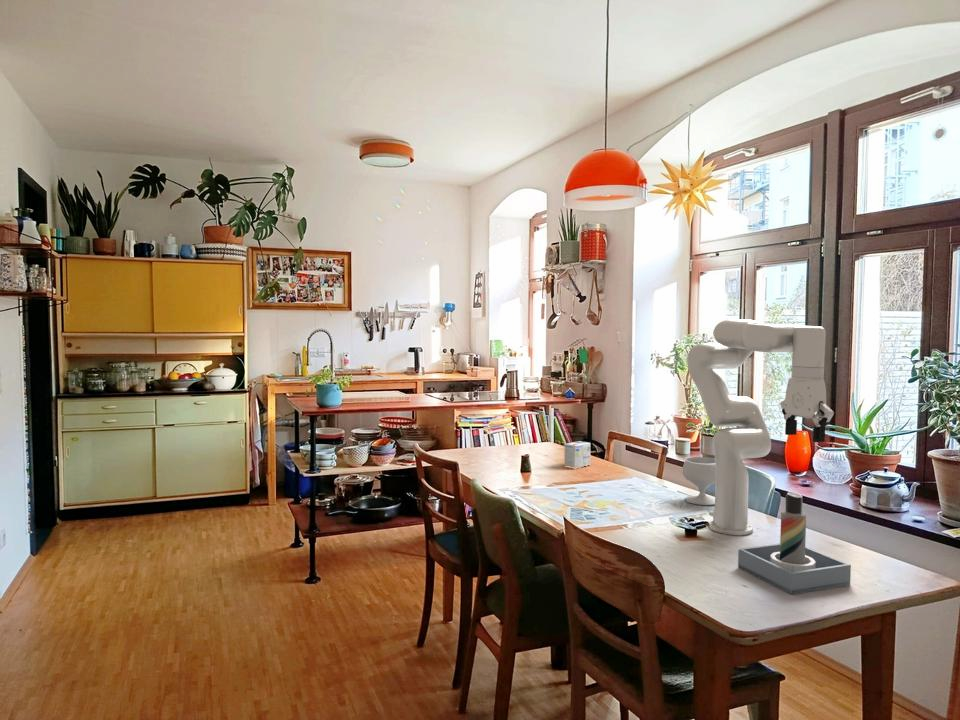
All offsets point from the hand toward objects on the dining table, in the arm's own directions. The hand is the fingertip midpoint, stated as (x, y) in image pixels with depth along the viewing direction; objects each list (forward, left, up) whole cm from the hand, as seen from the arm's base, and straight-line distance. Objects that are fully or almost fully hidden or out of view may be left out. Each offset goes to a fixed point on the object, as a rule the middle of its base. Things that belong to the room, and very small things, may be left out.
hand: (804, 438), depth 171 cm
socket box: (+6, -9, -34) cm, 35 cm away
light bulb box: (-126, -2, -34) cm, 130 cm away
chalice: (-59, +14, -34) cm, 70 cm away
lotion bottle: (+6, -9, -33) cm, 34 cm away
